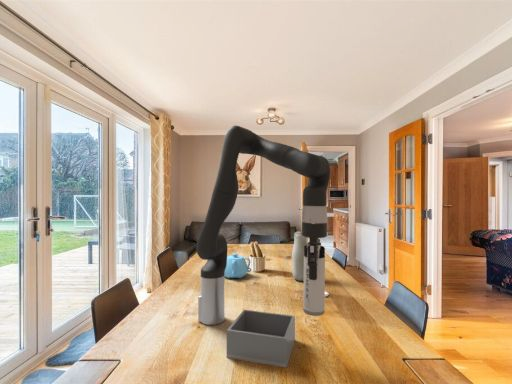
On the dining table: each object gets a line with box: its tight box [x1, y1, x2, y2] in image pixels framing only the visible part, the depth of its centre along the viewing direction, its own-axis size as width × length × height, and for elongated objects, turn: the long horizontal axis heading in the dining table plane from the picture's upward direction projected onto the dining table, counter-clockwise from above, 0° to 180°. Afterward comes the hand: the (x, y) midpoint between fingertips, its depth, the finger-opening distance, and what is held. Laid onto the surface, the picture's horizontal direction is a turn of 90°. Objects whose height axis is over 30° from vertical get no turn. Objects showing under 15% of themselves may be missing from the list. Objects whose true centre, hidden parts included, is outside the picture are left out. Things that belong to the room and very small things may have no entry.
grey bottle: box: [291, 230, 308, 282], centre depth 162 cm, size 10×10×28 cm
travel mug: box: [302, 245, 326, 317], centre depth 85 cm, size 6×7×20 cm
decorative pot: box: [225, 253, 252, 279], centre depth 170 cm, size 16×16×14 cm
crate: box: [226, 309, 296, 368], centre depth 89 cm, size 18×16×8 cm
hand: (313, 276), depth 85 cm, fingers closed on travel mug, 6 cm apart
